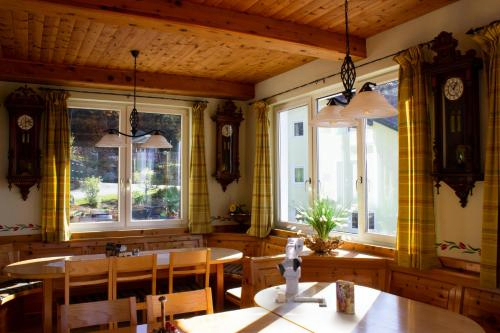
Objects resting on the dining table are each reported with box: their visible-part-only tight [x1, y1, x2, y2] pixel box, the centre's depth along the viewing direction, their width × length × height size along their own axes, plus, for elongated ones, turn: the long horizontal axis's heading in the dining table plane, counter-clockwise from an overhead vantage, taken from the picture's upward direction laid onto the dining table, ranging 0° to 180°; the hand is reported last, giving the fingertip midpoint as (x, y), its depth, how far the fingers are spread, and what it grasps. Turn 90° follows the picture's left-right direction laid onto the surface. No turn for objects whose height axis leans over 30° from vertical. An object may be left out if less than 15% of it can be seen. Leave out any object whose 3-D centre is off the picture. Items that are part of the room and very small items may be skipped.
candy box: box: [335, 279, 356, 315], centre depth 218 cm, size 9×4×15 cm, turn 39°
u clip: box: [277, 290, 286, 302], centre depth 235 cm, size 5×4×4 cm
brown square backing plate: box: [274, 298, 289, 304], centre depth 235 cm, size 8×7×1 cm
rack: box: [294, 296, 327, 308], centre depth 233 cm, size 12×18×3 cm, turn 84°
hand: (288, 272), depth 232 cm, fingers open, 7 cm apart
